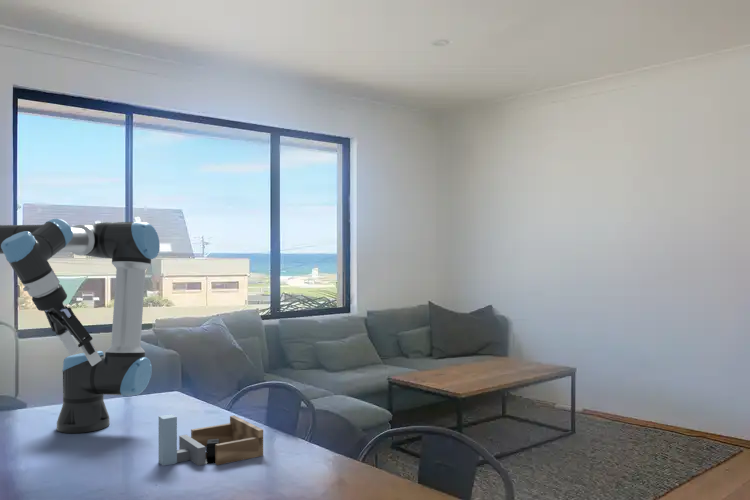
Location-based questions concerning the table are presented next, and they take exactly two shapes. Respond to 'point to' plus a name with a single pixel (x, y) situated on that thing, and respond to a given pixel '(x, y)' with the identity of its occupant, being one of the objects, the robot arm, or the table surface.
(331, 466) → the table surface
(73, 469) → the table surface
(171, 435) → the block
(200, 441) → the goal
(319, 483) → the table surface
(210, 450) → the black angular piece
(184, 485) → the table surface
